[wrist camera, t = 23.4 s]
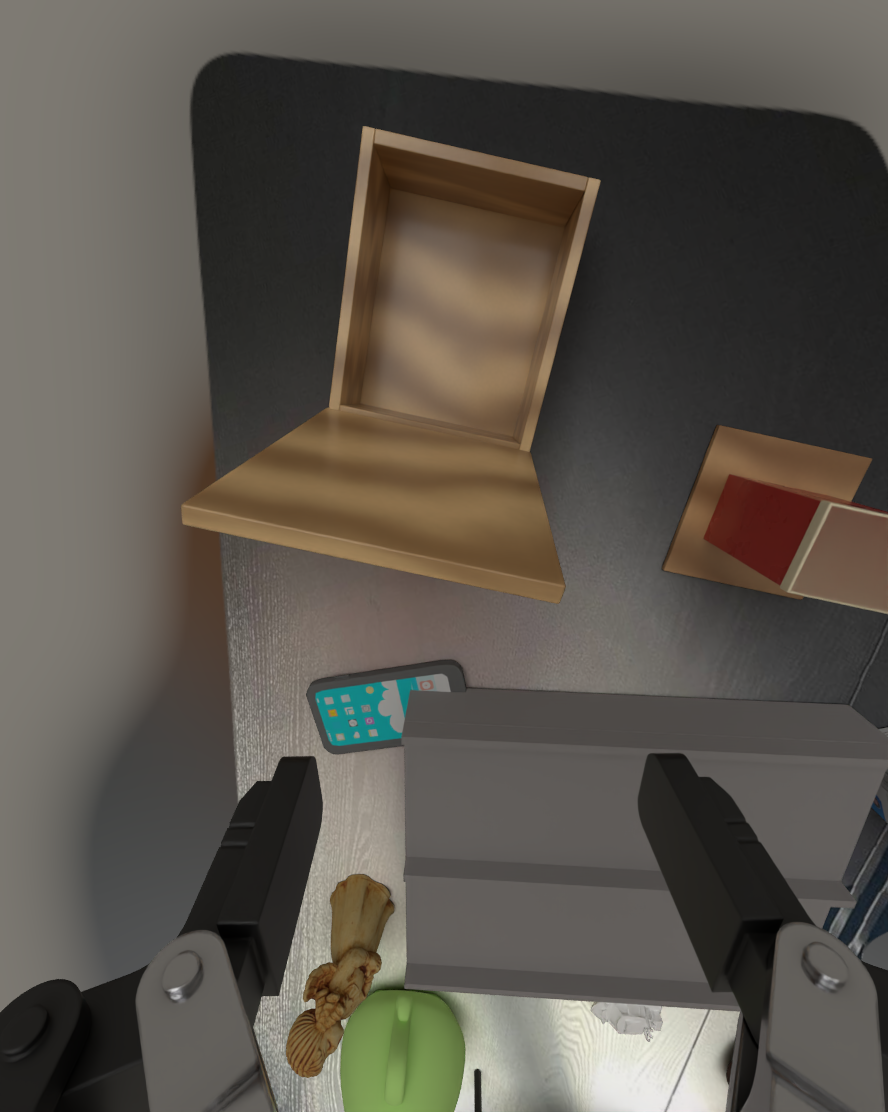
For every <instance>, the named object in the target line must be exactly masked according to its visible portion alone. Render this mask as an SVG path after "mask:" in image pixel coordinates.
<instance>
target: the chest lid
mask: <svg viewBox="0 0 888 1112" xmlns="http://www.w3.org/2000/svg"><path fill="white" fill-rule="evenodd" d="M181 511H182V522H183V524H184V525H188V526H193V527H197V528H203V529H207V530H211V531H216V532H221V533H226V534H230V535H235V536H240V537H244V538H249V539H254V540H259V541H263V542H268V543H273V544H277V545H282V546H287V547H292V548H296V549H301V550H306V551H311V552H315V553H320V554H325V555H329V556H334V557H339V558H344V559H348V560H353V561H358V562H362V563H367V564H372V565H377V566H381V567H386V568H391V569H395V570H400V571H405V572H410V573H414V574H419V575H424V576H428V577H433V578H438V579H443V580H447V581H452V582H457V583H461V584H466V585H471V586H476V587H480V588H485V589H490V590H495V591H499V592H504V593H509V594H513V595H518V596H523V597H528V598H532V599H537V600H542V601H546V602H551V603H556V604H559V603H560V601H561V598H562V596H563V593H564V590H565V588H566V586H565V582H564V578H563V574H562V570H561V567H560V563H559V559H558V555H557V551H556V548H555V544H554V540H553V536H552V532H551V529H550V525H549V521H548V517H547V513H546V509H545V506H544V502H543V498H542V494H541V490H540V487H539V483H538V479H537V475H536V471H535V468H534V464H533V460H532V456H531V452H528V451H523V450H519V449H514V448H510V447H505V446H501V445H496V444H491V443H487V442H482V441H478V440H473V439H468V438H464V437H459V436H455V435H450V434H445V433H441V432H436V431H432V430H427V429H422V428H418V427H413V426H409V425H404V424H399V423H395V422H390V421H386V420H381V419H376V418H372V417H367V416H363V415H358V414H353V413H349V412H344V411H340V410H335V409H330V408H326V409H324V410H323V411H321V412H320V413H318V414H317V415H315V416H314V417H312V418H311V419H309V420H308V421H306V422H305V423H303V424H302V425H300V426H299V427H297V428H296V429H294V430H293V431H291V432H290V433H288V434H287V435H285V436H284V437H282V438H281V439H279V440H278V441H276V442H275V443H273V444H272V445H270V446H269V447H267V448H266V449H264V450H263V451H261V452H260V453H258V454H257V455H255V456H254V457H252V458H251V459H249V460H248V461H246V462H245V463H243V464H242V465H240V466H239V467H237V468H236V469H234V470H233V471H231V472H230V473H228V474H227V475H225V476H224V477H222V478H221V479H219V480H218V481H216V482H215V483H213V484H212V485H210V486H209V487H207V488H206V489H204V490H203V491H201V492H200V493H198V494H197V495H195V496H194V497H192V498H191V499H189V500H188V501H186V502H185V503H183V504H182V505H181Z"/></svg>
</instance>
